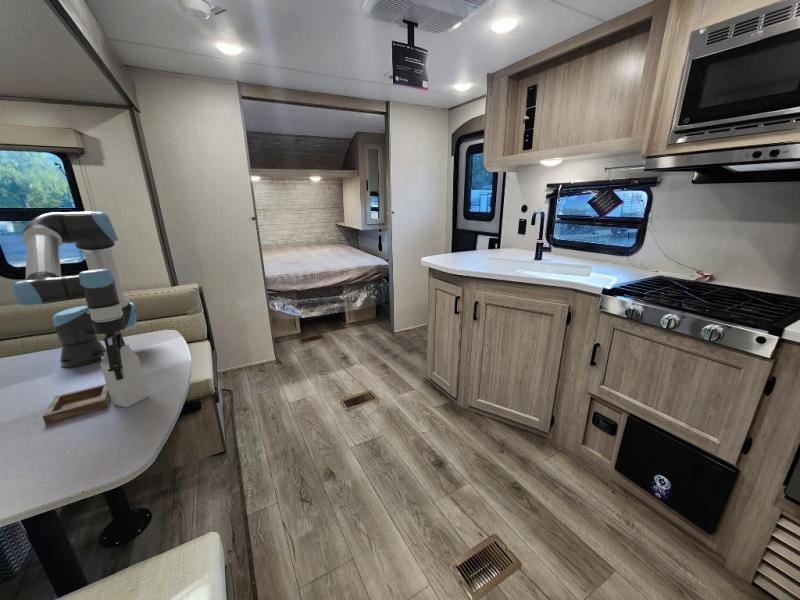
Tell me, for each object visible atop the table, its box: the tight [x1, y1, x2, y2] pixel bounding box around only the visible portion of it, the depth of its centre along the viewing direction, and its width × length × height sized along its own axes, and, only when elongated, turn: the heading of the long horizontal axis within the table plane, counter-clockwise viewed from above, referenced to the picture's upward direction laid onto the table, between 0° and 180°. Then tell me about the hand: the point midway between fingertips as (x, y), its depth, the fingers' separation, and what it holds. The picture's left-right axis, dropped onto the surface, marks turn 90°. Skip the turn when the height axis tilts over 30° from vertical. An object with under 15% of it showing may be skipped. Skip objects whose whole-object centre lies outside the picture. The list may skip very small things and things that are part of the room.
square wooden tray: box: [42, 383, 111, 426], centre depth 105 cm, size 14×14×3 cm
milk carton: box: [99, 344, 149, 408], centre depth 106 cm, size 7×7×19 cm
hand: (125, 379), depth 106 cm, fingers open, 13 cm apart
